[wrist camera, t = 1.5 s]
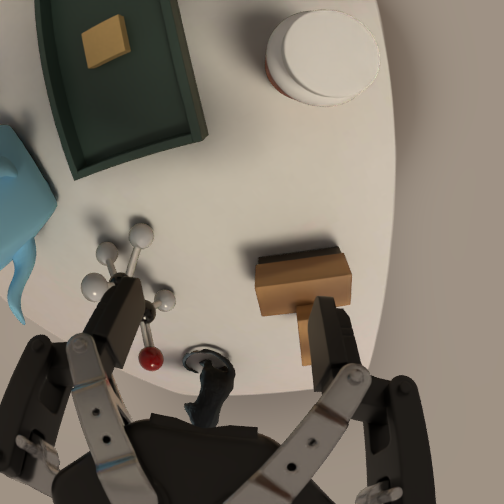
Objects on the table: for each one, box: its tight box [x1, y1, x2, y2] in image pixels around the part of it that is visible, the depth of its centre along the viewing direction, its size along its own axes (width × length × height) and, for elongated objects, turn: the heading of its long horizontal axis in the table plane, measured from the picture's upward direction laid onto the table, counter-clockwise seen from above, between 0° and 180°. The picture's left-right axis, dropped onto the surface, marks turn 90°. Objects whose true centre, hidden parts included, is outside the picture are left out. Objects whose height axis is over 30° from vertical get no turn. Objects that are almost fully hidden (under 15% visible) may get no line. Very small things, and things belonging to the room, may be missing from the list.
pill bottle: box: [265, 9, 380, 107], centre depth 14 cm, size 6×6×11 cm
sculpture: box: [182, 349, 235, 428], centre depth 35 cm, size 8×11×15 cm
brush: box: [255, 247, 352, 366], centre depth 29 cm, size 11×9×7 cm
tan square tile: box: [82, 15, 131, 69], centre depth 16 cm, size 4×4×1 cm
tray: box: [34, 0, 209, 181], centre depth 16 cm, size 14×24×3 cm, turn 11°
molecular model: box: [81, 223, 176, 371], centre depth 27 cm, size 8×12×11 cm
